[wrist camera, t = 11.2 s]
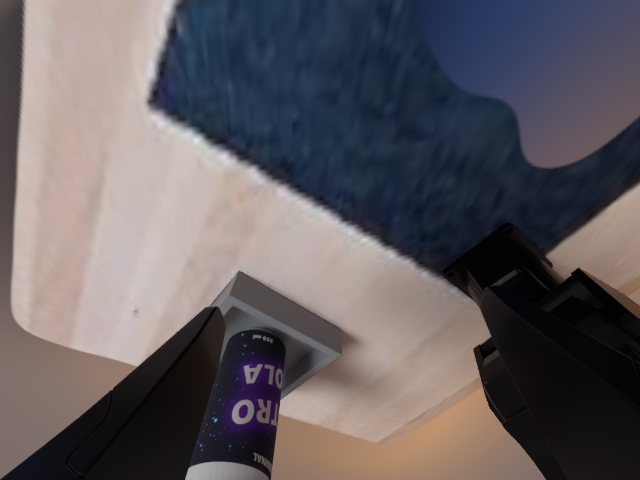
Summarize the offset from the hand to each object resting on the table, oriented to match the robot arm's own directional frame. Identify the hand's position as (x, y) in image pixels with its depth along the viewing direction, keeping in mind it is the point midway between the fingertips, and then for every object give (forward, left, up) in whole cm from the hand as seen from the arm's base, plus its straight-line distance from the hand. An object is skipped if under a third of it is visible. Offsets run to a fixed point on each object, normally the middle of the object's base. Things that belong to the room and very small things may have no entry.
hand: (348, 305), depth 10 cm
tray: (-5, +17, -12) cm, 22 cm away
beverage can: (-5, +17, -12) cm, 21 cm away
